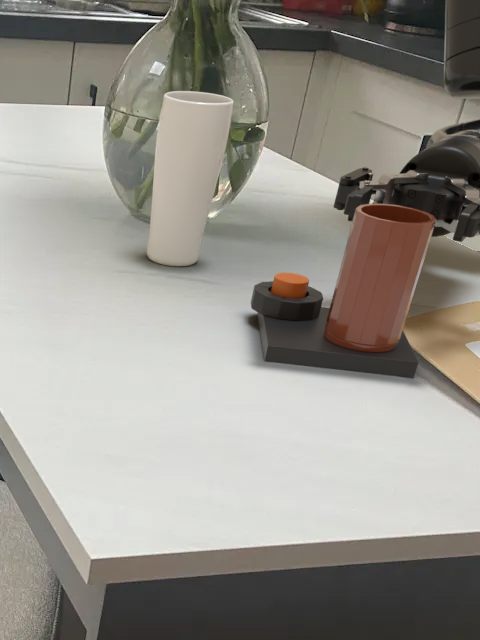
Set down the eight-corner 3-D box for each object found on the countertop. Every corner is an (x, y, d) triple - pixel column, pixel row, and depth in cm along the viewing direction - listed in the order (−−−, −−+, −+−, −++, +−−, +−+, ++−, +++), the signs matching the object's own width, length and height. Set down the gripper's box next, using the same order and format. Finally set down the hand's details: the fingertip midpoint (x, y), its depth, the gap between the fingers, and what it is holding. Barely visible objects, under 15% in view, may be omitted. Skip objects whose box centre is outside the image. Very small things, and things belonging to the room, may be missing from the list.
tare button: (303, 292, 95) (307, 274, 94) (306, 302, 93) (310, 284, 92) (269, 288, 95) (273, 270, 94) (271, 299, 93) (275, 280, 92)
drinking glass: (135, 249, 113) (159, 88, 104) (199, 253, 113) (228, 93, 104) (142, 268, 107) (167, 100, 98) (209, 272, 107) (240, 105, 98)
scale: (389, 327, 97) (399, 293, 95) (413, 379, 87) (425, 342, 85) (246, 311, 98) (253, 278, 96) (252, 360, 88) (260, 324, 86)
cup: (391, 331, 92) (428, 208, 86) (402, 356, 87) (442, 227, 81) (320, 324, 92) (352, 200, 86) (327, 347, 87) (361, 218, 81)
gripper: (380, 127, 98) (332, 153, 87) (545, 151, 93) (516, 183, 81) (358, 213, 103) (309, 249, 91) (513, 241, 97) (482, 283, 86)
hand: (407, 218), depth 86 cm, fingers open, 8 cm apart
